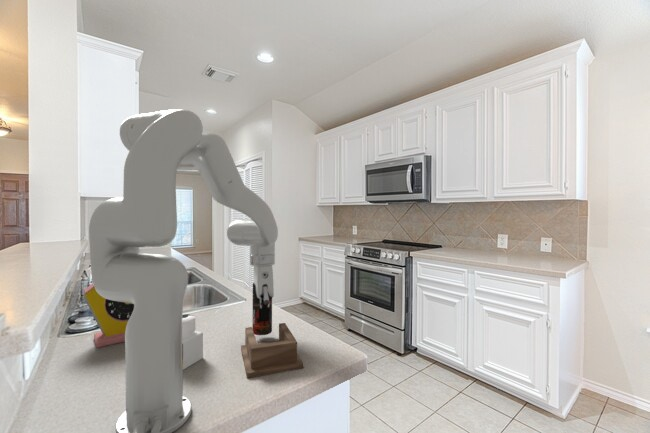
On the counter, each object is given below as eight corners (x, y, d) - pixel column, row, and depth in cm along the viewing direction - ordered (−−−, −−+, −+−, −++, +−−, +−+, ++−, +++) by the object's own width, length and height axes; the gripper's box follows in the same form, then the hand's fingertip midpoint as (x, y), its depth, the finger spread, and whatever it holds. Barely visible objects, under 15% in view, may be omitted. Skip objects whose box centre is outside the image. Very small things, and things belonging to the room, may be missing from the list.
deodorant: (248, 332, 95) (248, 283, 95) (262, 326, 100) (262, 280, 100) (261, 336, 92) (262, 286, 92) (275, 330, 97) (276, 283, 96)
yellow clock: (84, 351, 87) (83, 275, 87) (83, 340, 94) (82, 270, 94) (169, 331, 102) (168, 266, 101) (162, 323, 109) (162, 262, 108)
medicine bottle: (161, 365, 80) (161, 319, 79) (183, 353, 86) (183, 310, 86) (182, 370, 77) (182, 323, 77) (203, 358, 84) (203, 314, 83)
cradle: (303, 368, 78) (303, 343, 78) (246, 378, 74) (246, 352, 74) (288, 342, 94) (288, 322, 93) (241, 349, 89) (241, 328, 89)
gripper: (280, 263, 89) (280, 325, 89) (269, 255, 105) (269, 308, 105) (253, 264, 86) (253, 328, 86) (247, 256, 102) (246, 310, 103)
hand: (262, 316), depth 96 cm, fingers closed on deodorant, 5 cm apart
